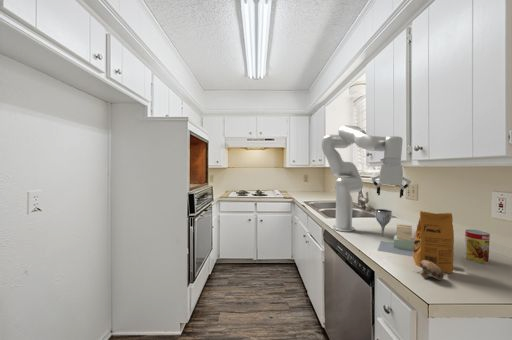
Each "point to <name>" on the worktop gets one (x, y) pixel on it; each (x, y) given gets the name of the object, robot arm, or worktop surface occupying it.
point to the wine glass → (383, 217)
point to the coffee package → (435, 240)
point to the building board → (393, 249)
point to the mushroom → (430, 270)
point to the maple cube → (404, 232)
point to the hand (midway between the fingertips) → (389, 196)
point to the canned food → (477, 246)
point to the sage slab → (403, 243)
